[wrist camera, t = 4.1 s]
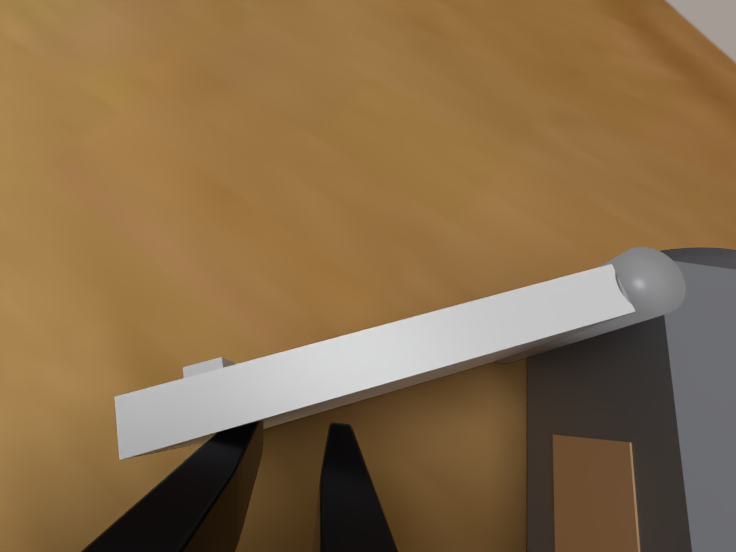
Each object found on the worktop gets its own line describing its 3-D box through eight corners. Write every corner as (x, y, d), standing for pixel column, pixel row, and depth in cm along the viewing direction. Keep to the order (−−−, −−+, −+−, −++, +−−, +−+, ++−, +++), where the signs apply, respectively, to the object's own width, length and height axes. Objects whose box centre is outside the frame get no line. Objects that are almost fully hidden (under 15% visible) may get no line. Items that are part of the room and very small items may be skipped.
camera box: (728, 748, 12) (1324, 1272, 5) (525, 720, 12) (806, 1203, 5) (673, 315, 16) (936, 237, 9) (525, 294, 16) (669, 198, 9)
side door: (244, 440, 14) (120, 473, 6) (235, 391, 14) (112, 367, 7) (524, 358, 15) (699, 303, 8) (508, 316, 16) (656, 226, 8)
